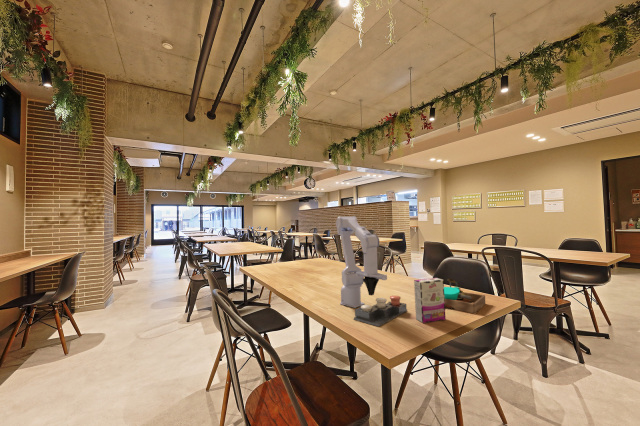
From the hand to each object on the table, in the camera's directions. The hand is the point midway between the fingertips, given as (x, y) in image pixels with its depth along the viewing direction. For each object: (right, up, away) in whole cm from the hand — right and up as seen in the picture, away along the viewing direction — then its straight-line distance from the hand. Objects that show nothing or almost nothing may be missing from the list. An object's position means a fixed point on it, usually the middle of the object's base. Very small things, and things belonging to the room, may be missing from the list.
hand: (371, 294), depth 116 cm
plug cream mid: (+5, -6, +2) cm, 8 cm away
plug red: (+12, -6, +5) cm, 14 cm away
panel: (+5, -9, +2) cm, 11 cm away
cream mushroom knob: (-2, -8, -1) cm, 9 cm away
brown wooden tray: (+43, -9, +15) cm, 47 cm away
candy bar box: (+23, -9, -5) cm, 25 cm away
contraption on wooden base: (+43, -9, +14) cm, 46 cm away
